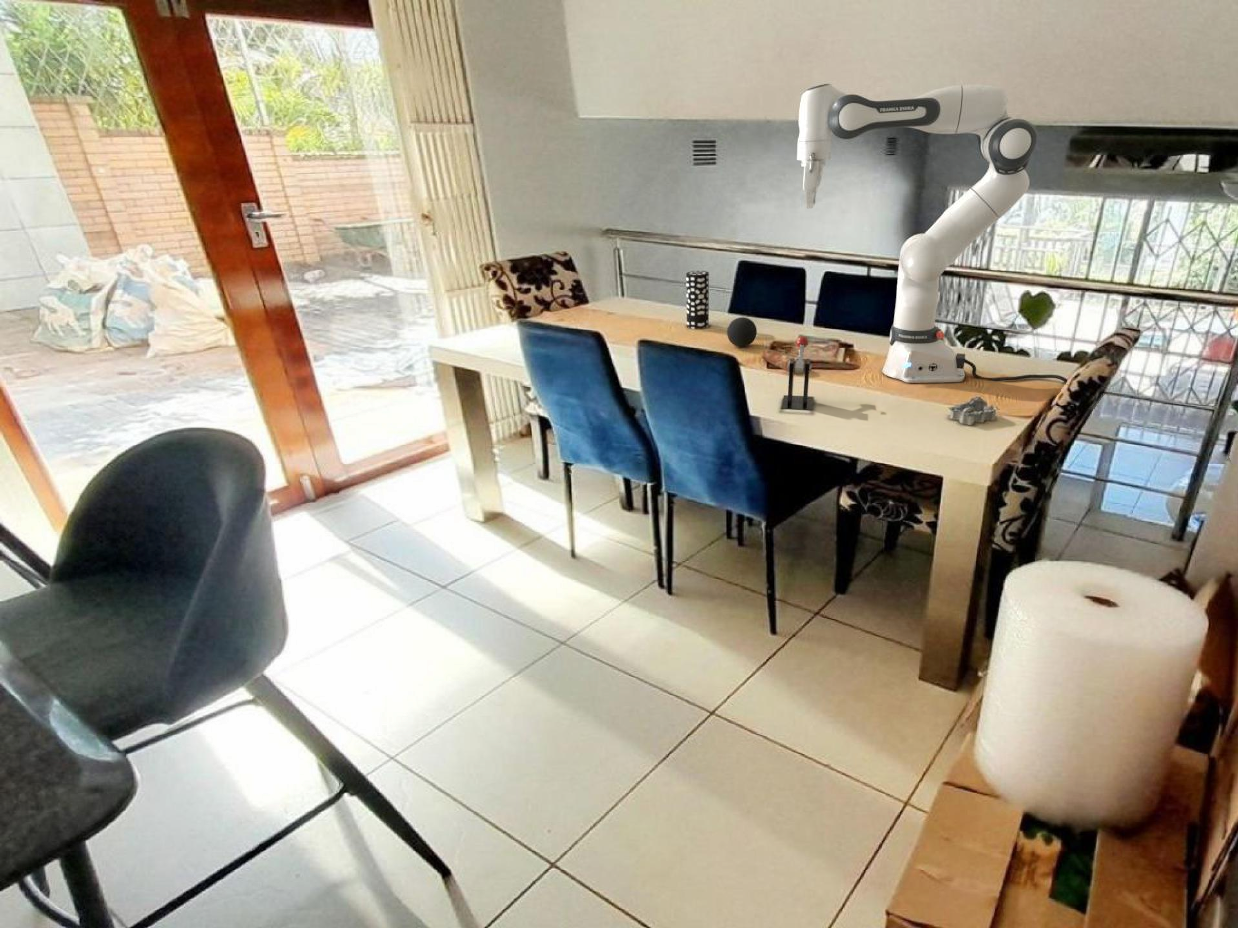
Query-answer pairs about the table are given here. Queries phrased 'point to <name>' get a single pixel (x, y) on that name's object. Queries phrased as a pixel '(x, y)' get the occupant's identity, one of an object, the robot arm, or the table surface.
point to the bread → (780, 359)
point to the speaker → (741, 332)
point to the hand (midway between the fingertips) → (810, 206)
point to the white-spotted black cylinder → (697, 299)
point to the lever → (801, 355)
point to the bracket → (798, 401)
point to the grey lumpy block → (973, 411)
